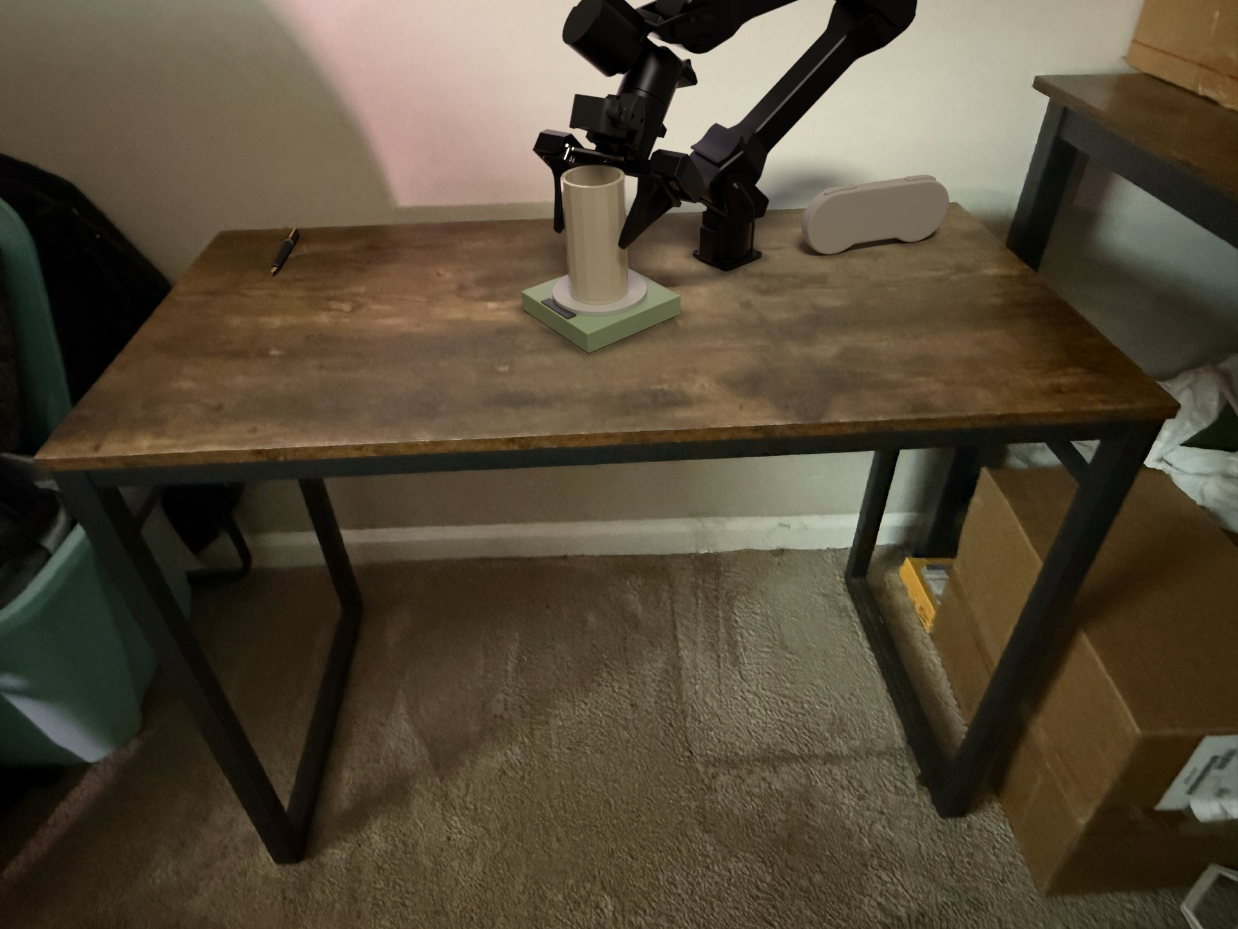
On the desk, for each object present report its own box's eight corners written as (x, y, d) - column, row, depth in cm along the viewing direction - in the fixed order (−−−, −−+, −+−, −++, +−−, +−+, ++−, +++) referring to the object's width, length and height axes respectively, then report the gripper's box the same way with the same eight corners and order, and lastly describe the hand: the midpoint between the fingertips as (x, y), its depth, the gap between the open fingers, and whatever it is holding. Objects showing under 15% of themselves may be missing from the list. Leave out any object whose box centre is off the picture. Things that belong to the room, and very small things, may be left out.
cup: (605, 272, 94) (599, 160, 86) (639, 292, 90) (637, 176, 82) (559, 290, 91) (548, 175, 83) (592, 311, 87) (585, 192, 79)
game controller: (932, 231, 107) (946, 168, 102) (942, 238, 105) (956, 174, 100) (796, 252, 104) (803, 187, 98) (804, 259, 102) (811, 194, 97)
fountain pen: (277, 278, 103) (274, 267, 102) (268, 278, 103) (264, 268, 102) (302, 232, 114) (299, 222, 113) (293, 233, 114) (290, 223, 113)
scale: (611, 276, 100) (610, 253, 98) (680, 314, 92) (680, 290, 90) (523, 309, 94) (520, 286, 92) (588, 353, 86) (587, 329, 84)
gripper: (534, 47, 83) (478, 188, 83) (693, 66, 74) (631, 223, 74) (583, 108, 93) (533, 234, 92) (728, 131, 84) (674, 270, 84)
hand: (588, 239), depth 86 cm, fingers open, 8 cm apart
